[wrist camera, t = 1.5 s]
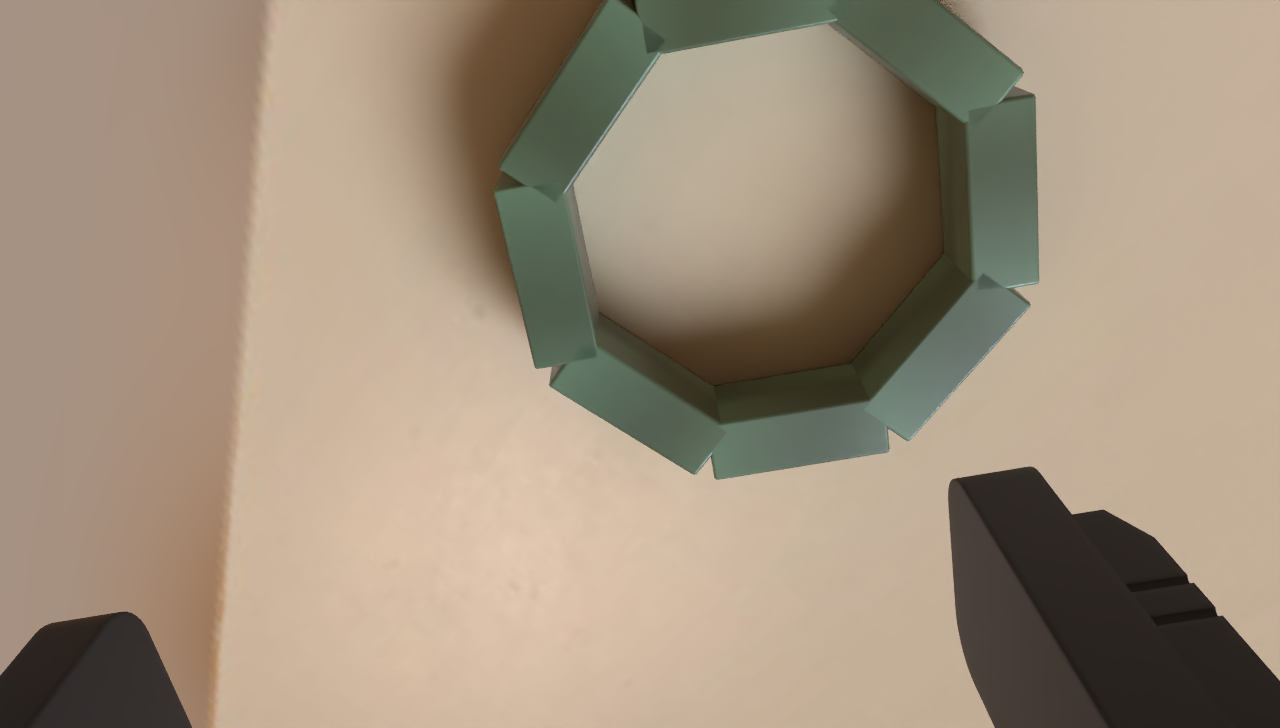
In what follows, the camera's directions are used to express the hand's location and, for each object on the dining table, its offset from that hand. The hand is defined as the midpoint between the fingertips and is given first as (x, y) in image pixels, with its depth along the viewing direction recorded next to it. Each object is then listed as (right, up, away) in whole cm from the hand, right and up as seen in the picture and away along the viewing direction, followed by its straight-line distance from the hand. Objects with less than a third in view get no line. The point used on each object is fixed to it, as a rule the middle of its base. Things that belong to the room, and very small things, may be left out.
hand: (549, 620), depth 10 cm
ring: (+4, +6, +12) cm, 14 cm away
